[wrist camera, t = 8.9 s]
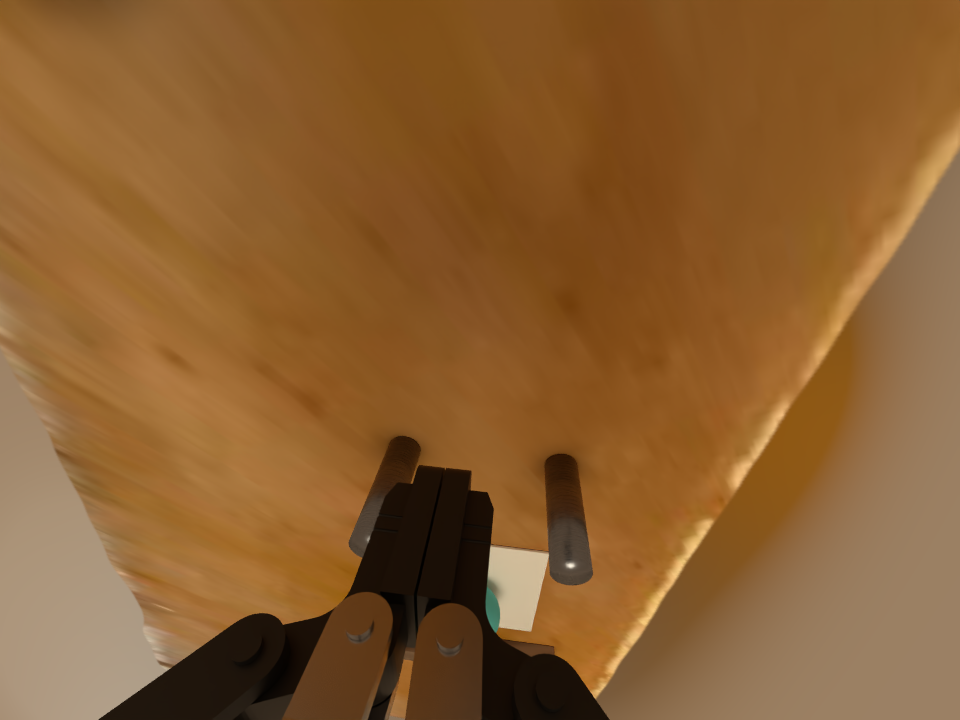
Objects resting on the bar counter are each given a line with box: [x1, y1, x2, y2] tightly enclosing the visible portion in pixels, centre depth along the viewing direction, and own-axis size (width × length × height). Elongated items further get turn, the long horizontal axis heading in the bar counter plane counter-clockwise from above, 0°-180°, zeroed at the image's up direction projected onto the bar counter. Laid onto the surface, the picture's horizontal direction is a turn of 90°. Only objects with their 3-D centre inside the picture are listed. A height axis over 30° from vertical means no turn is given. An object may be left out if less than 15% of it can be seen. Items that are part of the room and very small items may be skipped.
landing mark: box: [487, 545, 549, 631], centre depth 43 cm, size 14×14×1 cm
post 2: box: [544, 454, 593, 585], centre depth 29 cm, size 3×3×9 cm
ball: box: [486, 587, 500, 633], centre depth 40 cm, size 6×6×6 cm
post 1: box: [349, 436, 421, 558], centre depth 30 cm, size 3×3×9 cm
